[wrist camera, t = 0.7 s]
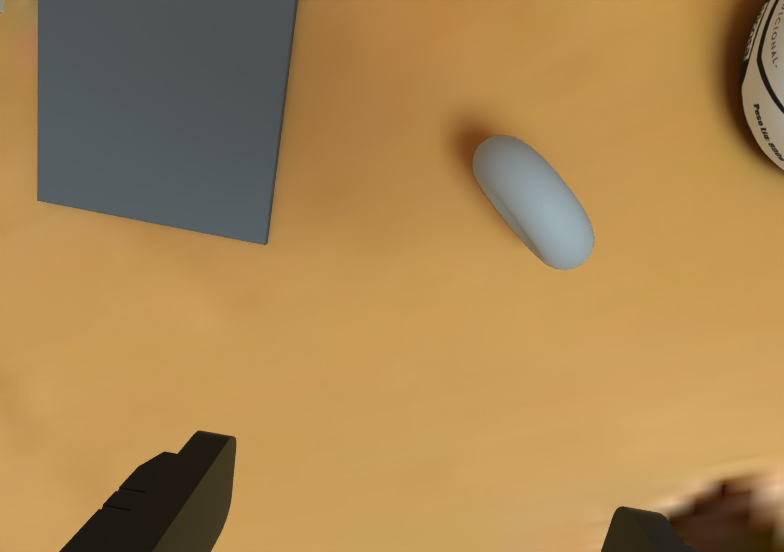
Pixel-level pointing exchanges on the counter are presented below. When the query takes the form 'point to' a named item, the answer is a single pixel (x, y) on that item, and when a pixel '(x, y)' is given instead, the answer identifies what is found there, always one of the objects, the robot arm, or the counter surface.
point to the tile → (1, 6)
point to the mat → (164, 109)
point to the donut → (534, 201)
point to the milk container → (765, 80)
